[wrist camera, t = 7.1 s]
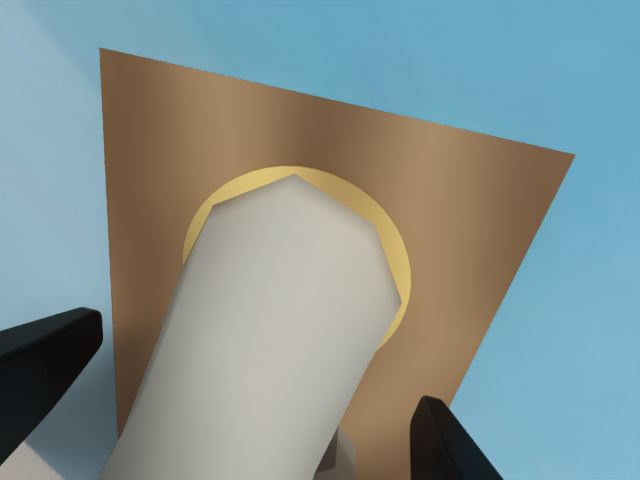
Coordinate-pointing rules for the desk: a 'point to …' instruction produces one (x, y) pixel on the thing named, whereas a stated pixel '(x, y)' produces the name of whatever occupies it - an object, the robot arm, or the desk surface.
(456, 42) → the desk surface
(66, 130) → the desk surface
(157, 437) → the flask
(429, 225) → the gear board
